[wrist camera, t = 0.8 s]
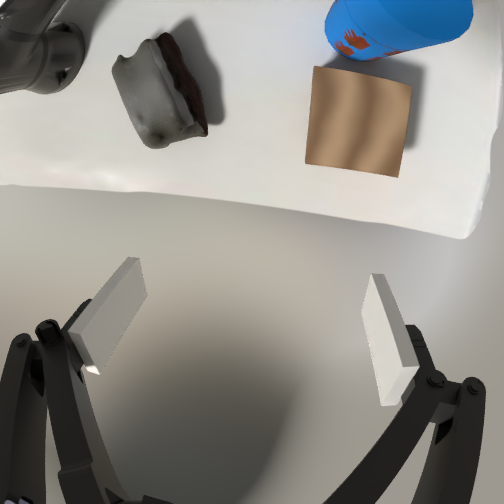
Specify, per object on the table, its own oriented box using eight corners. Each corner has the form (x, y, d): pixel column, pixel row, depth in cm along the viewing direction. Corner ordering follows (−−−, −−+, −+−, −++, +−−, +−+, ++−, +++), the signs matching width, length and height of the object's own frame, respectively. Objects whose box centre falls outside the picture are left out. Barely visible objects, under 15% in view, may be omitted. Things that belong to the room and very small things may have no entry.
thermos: (397, 58, 36) (488, 44, 14) (336, 67, 39) (390, 46, 17) (376, -1, 31) (446, -57, 10) (313, 7, 34) (342, -63, 12)
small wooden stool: (302, 153, 46) (305, 163, 40) (309, 69, 39) (314, 65, 33) (383, 165, 46) (398, 177, 40) (395, 85, 38) (411, 86, 32)
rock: (223, 128, 45) (211, 135, 39) (164, 155, 48) (145, 166, 42) (179, 33, 38) (161, 25, 31) (123, 66, 41) (98, 65, 34)
